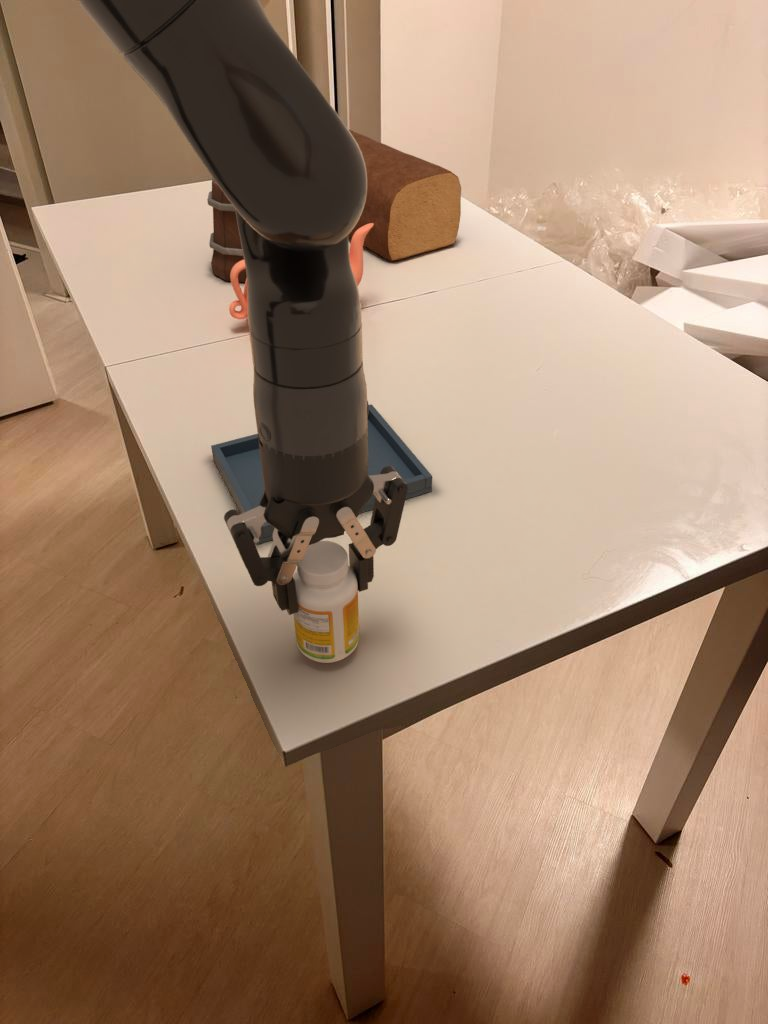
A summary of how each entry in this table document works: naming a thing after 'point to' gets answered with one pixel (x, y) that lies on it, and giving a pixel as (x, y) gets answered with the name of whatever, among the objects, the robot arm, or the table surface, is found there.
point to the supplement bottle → (326, 603)
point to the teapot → (355, 262)
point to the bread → (406, 202)
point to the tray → (384, 449)
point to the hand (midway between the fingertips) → (324, 594)
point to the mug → (224, 236)
